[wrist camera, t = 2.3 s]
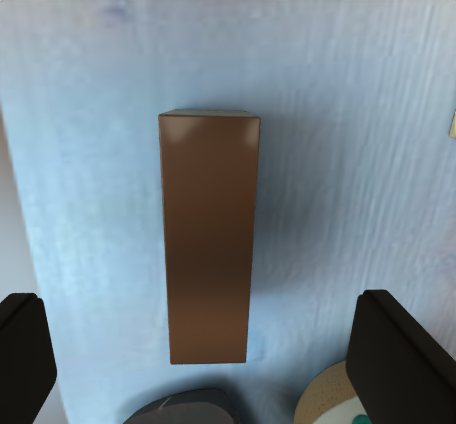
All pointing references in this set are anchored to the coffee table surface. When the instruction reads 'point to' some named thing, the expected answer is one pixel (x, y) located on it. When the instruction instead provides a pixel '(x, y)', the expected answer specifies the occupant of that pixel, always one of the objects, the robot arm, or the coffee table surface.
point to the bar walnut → (208, 230)
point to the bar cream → (453, 127)
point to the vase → (330, 400)
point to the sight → (188, 409)
